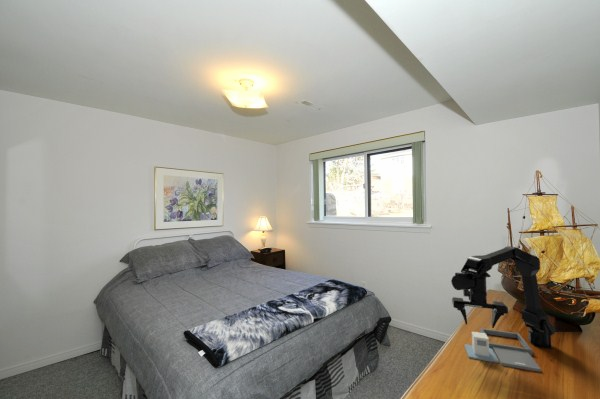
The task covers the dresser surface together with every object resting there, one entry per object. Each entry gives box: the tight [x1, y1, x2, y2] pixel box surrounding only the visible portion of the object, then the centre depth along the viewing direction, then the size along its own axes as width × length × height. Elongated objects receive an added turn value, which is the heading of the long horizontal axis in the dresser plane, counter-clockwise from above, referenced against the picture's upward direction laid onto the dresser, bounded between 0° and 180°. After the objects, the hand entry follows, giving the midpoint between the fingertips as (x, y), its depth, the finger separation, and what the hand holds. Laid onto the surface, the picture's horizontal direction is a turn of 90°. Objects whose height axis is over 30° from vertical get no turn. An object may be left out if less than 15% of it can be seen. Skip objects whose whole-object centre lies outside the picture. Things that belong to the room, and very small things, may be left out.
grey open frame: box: [479, 327, 542, 373], centre depth 113 cm, size 15×27×2 cm, turn 157°
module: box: [471, 331, 490, 357], centre depth 110 cm, size 5×5×7 cm
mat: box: [463, 343, 500, 364], centre depth 110 cm, size 10×10×1 cm
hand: (479, 326), depth 111 cm, fingers open, 9 cm apart
